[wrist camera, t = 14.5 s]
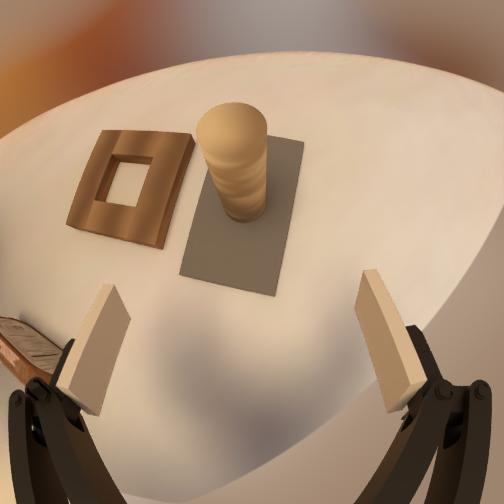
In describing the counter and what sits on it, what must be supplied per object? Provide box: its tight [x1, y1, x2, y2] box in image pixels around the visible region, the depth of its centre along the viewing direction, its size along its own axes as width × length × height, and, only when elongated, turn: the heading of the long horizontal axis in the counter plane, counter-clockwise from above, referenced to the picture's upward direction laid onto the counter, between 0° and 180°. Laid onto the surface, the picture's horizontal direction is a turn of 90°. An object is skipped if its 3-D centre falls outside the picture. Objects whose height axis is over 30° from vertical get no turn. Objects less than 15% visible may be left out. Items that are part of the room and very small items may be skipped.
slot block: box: [66, 130, 195, 249], centre depth 27 cm, size 12×12×2 cm
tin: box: [0, 317, 63, 386], centre depth 21 cm, size 15×3×8 cm, turn 71°
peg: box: [196, 103, 267, 223], centre depth 20 cm, size 4×4×12 cm
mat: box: [179, 135, 304, 296], centre depth 27 cm, size 9×16×1 cm, turn 167°
